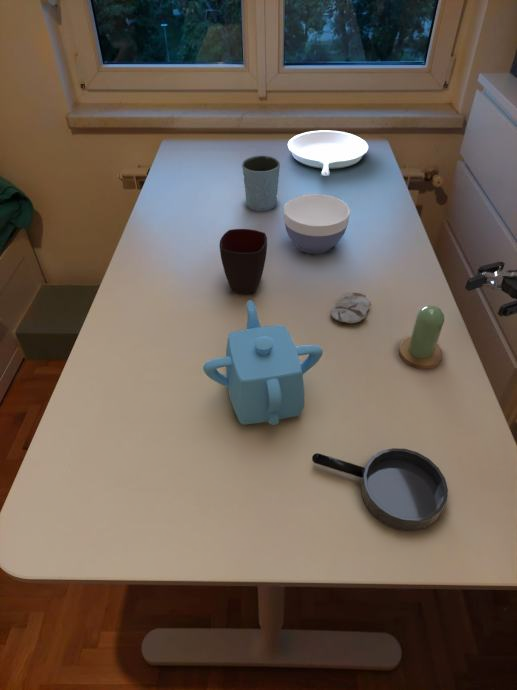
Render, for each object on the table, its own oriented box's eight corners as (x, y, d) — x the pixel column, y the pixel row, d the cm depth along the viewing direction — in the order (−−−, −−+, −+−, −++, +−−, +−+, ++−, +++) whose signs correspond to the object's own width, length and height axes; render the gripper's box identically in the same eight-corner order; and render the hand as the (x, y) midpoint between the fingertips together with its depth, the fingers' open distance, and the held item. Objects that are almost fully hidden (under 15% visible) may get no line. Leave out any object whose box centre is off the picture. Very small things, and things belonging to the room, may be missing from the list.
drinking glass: (280, 197, 146) (281, 156, 137) (276, 214, 138) (277, 172, 130) (246, 195, 147) (245, 154, 138) (240, 211, 139) (239, 170, 131)
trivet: (443, 346, 99) (444, 342, 98) (438, 373, 94) (440, 369, 93) (402, 336, 101) (403, 332, 101) (395, 362, 96) (396, 359, 95)
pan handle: (367, 472, 77) (369, 466, 76) (365, 481, 76) (366, 475, 74) (313, 455, 79) (314, 449, 78) (310, 464, 78) (311, 458, 77)
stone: (360, 331, 102) (362, 321, 101) (326, 322, 105) (327, 312, 103) (372, 304, 109) (374, 295, 107) (340, 296, 111) (341, 286, 109)
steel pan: (446, 472, 78) (451, 461, 76) (437, 542, 70) (443, 532, 68) (370, 450, 81) (372, 439, 79) (353, 514, 73) (355, 504, 71)
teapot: (328, 392, 90) (335, 337, 81) (272, 451, 81) (273, 396, 72) (251, 349, 99) (249, 294, 90) (192, 397, 90) (184, 342, 81)
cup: (218, 297, 111) (214, 251, 103) (232, 263, 121) (229, 218, 113) (262, 302, 110) (262, 255, 101) (272, 267, 120) (273, 221, 111)
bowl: (358, 251, 124) (363, 216, 118) (301, 267, 119) (304, 232, 113) (325, 222, 135) (328, 188, 128) (271, 236, 130) (272, 202, 123)
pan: (365, 142, 175) (367, 128, 172) (369, 192, 147) (371, 177, 144) (290, 138, 178) (291, 125, 174) (279, 187, 150) (280, 172, 147)
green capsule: (439, 352, 96) (453, 310, 89) (421, 362, 94) (434, 320, 87) (420, 338, 99) (432, 296, 92) (402, 348, 97) (413, 306, 90)
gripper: (527, 242, 99) (462, 261, 94) (588, 280, 89) (520, 303, 85) (514, 274, 104) (452, 293, 99) (571, 313, 94) (505, 336, 90)
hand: (483, 298), depth 92 cm, fingers open, 8 cm apart
